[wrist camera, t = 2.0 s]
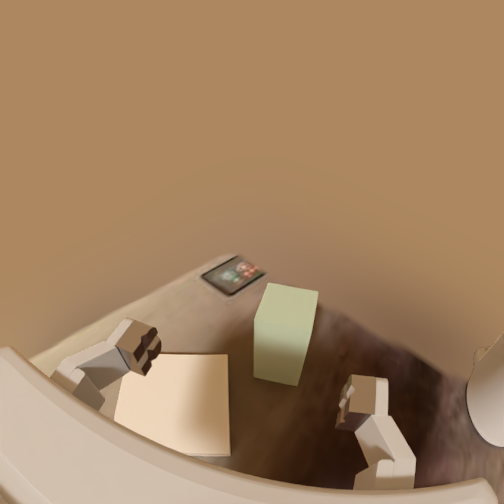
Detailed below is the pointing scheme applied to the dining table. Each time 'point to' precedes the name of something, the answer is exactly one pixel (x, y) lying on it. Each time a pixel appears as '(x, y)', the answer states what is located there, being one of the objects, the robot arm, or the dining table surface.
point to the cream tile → (180, 403)
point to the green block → (283, 333)
